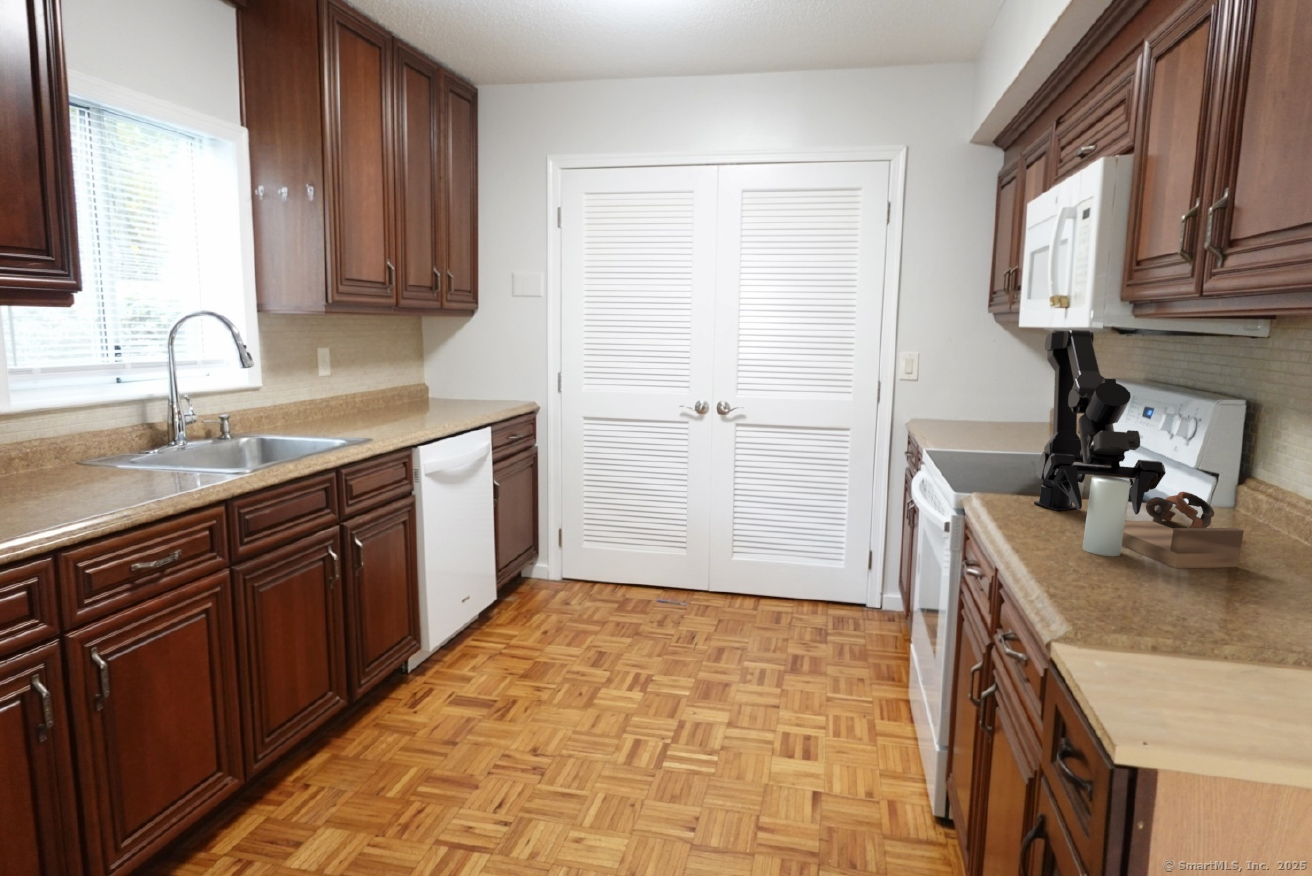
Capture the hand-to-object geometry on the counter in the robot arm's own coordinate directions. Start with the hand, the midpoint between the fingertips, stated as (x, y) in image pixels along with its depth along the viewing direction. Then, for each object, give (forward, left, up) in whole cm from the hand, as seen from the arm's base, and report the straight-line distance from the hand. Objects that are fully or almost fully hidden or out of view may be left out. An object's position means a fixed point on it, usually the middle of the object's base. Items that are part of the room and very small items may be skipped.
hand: (1108, 510), depth 140 cm
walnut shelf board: (-13, +2, -8) cm, 15 cm away
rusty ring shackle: (-31, -8, -8) cm, 33 cm away
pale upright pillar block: (-1, -1, -8) cm, 8 cm away
